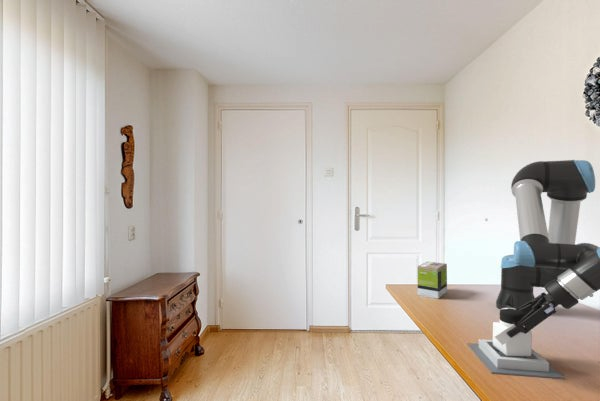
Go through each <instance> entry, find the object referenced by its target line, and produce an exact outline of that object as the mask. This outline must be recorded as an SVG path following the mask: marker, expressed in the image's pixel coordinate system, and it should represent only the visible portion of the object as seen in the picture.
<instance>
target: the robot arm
mask: <svg viewBox="0 0 600 401" xmlns="http://www.w3.org/2000/svg"><path fill="white" fill-rule="evenodd" d="M510 185H511V186H510V187H511V188H510V189H511V194H512V196H514V197H515V204H516V213H517V214H516V215H517V222H518V230H519V231H518V233H519V239H520V240H517V241H515V242H514V244H513V254H508V255H505V256H503V257H501V265H500V268H501V271H500V273H501V276H500V277H501V278H500V291H499V293H498V296H497V298H496V301H495V307H496V308H498V309H499V310H501V309H503V308H513V309H517V310H520V311H521V312H523V313H524V317H523V318H522V319H521V320H520V321H519V322H517V323H516V322H513V324H512V325H511V326H509V327H508V328H506V329H505V330H503V331H502V332H500V333H499V334H497V335H495V338H496V339H497V340H498V341H499V342H500V343H501V344H502V345H503V344H505V343H507V342H508V341H510V340H511V339H513V338H515V337H516V336H518V335H519V334H521V333H524V334H526V333H528V332H529V331H532V330H533V329H534V328H536V326H538V325H539V324H541V323H542V322H544V321H545V320H547V318H549V317H551V316H552V315H555V314H556V313H557V310H556V308H557V307H558V306H559V305H560V306H562V308H564V309H566V310H569V309H571V308H573V307H574V306H576V305H577V304H579V303H580V302H579V300H581V301H583V300H586V298H588V297H590V298H593V297H594V293H596V292H598V291H599V290H600V246H598V245H597V244H596V245H595V244H593V243H589V242H579V243H577V244H576V239H577V232H578V231H577V229H578V223H579V216H580V208H581V202H583V201H584V200H586V199H587V196H588V193H589V194H591V193H593V192H595V189H596V176H595V171H594V167H593V165H592V163H590V161H588V160H584V159H583V160H580V159H577V160H575V159H568V160H566V159H565V160H550V161H549V160H548V161H545V160H544V161H543V160H540V161H533V162H531V163H529V164H526V165H525V166H523V167H522V168H520V169H519V170H518V171H517V173H516V174H515V176H514V177H513V178H512V181H511V184H510ZM543 193H546V196H547V197H548V199H550V210H549V211H550V212H549V221H548V226H547V222H546V214H545V211H544V210H545V209H544V204H543V200H542V194H543ZM534 288H542V289H544V290H545V291H546V292H547V293H546V292H541V293H540V294H539V295H538V296H536V297H535V295H534ZM523 325H524V326H523Z"/></svg>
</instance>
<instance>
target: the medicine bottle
mask: <svg viewBox="0 0 600 401" xmlns="http://www.w3.org/2000/svg"><path fill="white" fill-rule="evenodd" d="M523 317H524V313H523V312H521V311H520V310H517V309H513V308H503V309H499V321H495V322H494V321H493V323H492V340H493V346H495V347H496V348H497V349H498V350H500V351H501V352H502V353H504V354H505V355H506V356H531V352H532V349H533V348H532V347H533V346H532V345H533V344H532V342H533V339H532V338H533V336H532V335H533V334H532V333H533V332H532V330H530V331H529V332H528V333H526V334H524V333H521V334H519V335H518V336H516V337H515V338H513V339H511V340H510V341H508V342H507V343H505V344H503V345H502V344H501V343H500V342H499V341H498V340H497V339H496V338H495V335H497V334H499V333H500V332H502V331H503V330H505V329H506V328H508V327H509V326H511V325H512V324H513V322H516V323H517V322H519V321H520V320H521V319H522V318H523ZM523 326H524V325H523Z"/></svg>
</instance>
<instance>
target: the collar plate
mask: <svg viewBox="0 0 600 401" xmlns="http://www.w3.org/2000/svg"><path fill="white" fill-rule="evenodd" d="M466 345H467V346H468V347H469V348H470V350H471V351H472V352H473V353H474V354H475V356H476V357H477V358H478V360H480V361H481V362H482V363H483V365H484V366H485V367H486V369H487V370H488V371H489V372H490V374H493V375H505V376H506V375H508V376H519V377H520V376H521V377H531V378H533V377H534V378H545V379H548V378H549V379H557V378H559V380H566V377H565V376H564V375H563V374H561V373H560V372H559V371H558V370H556V369H555V368H554V367H553V366H551V365H550V363H549V361H548V360H547V359H545V358H544V357H542V355H540V354H539V353H537V351H535V350H534V349H533V348H532V352H531V356H506V355H505V354H504V353H502V352H501V351H500V350H498V349H497V348H496V347H495V346H493V339H483V338H481V339H480V338H479V339H478V343H470V342H467V343H466Z"/></svg>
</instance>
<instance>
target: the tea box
mask: <svg viewBox="0 0 600 401" xmlns="http://www.w3.org/2000/svg"><path fill="white" fill-rule="evenodd" d="M447 268H448V266H447V263H445V262H444V263H442V262H435V261H434V262H433V261H426V262H425V261H424V262H423V263H422V264H419V265H417V296H420V297H426V298H430V299H435V298H436V299H437V300H438V299H440V298H441V297H442V296H444V295H445V294H446V293H447V292H448V271H447Z"/></svg>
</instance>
